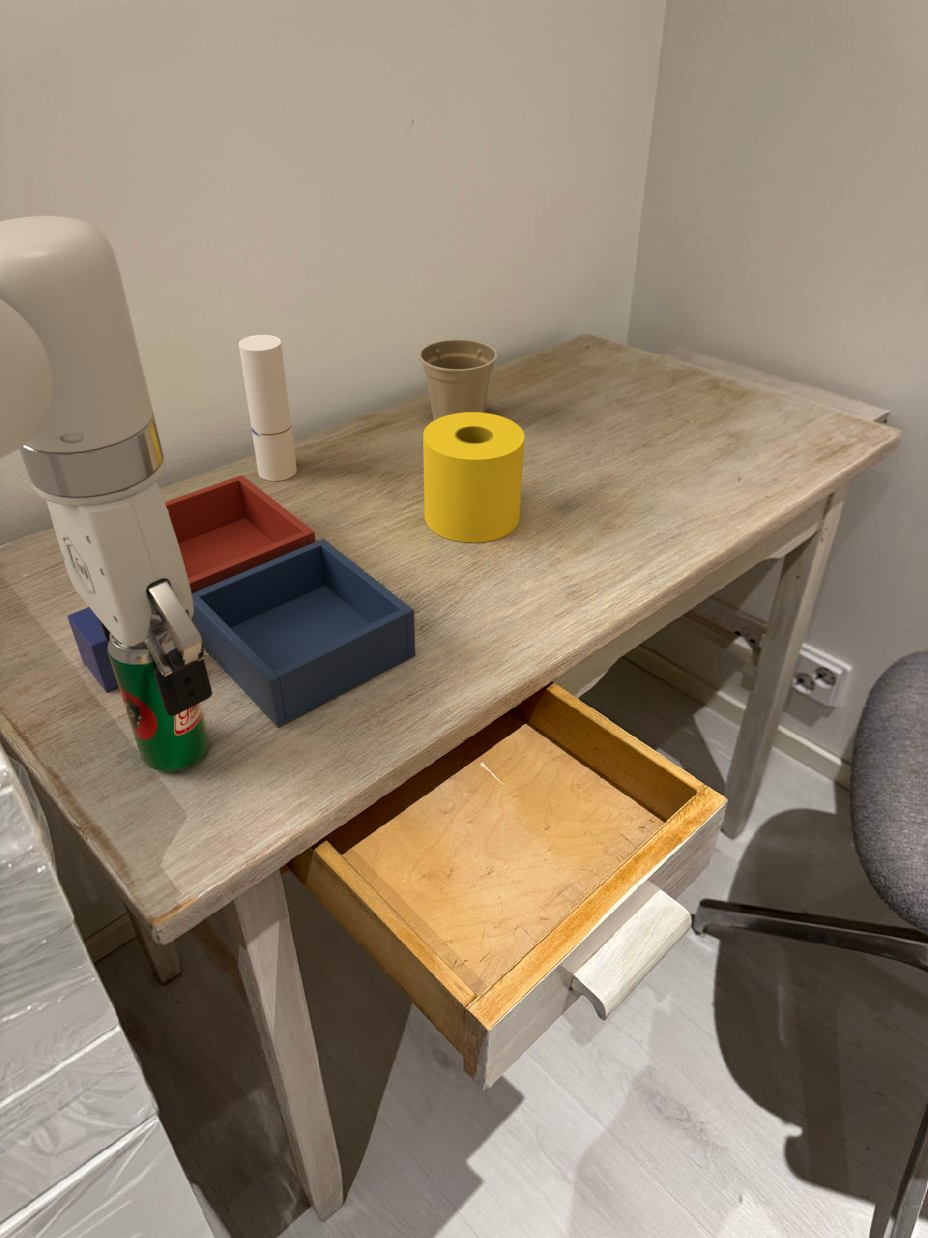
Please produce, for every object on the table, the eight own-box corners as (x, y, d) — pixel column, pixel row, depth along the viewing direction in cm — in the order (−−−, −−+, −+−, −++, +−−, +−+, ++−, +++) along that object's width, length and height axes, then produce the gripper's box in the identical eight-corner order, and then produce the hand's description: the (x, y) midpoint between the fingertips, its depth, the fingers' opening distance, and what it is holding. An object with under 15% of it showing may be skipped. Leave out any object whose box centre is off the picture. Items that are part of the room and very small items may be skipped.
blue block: (106, 692, 73) (91, 646, 70) (82, 661, 76) (66, 615, 72) (163, 666, 75) (151, 620, 72) (138, 637, 78) (125, 591, 75)
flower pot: (405, 425, 110) (402, 358, 105) (446, 397, 116) (446, 332, 111) (470, 445, 106) (471, 376, 101) (508, 415, 112) (512, 348, 107)
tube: (303, 465, 102) (288, 337, 93) (285, 483, 99) (268, 353, 89) (270, 459, 103) (251, 332, 94) (251, 477, 100) (230, 347, 90)
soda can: (201, 777, 66) (169, 654, 58) (133, 776, 66) (92, 653, 58) (217, 727, 70) (189, 606, 62) (152, 726, 70) (116, 605, 62)
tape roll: (538, 525, 93) (544, 443, 87) (455, 552, 89) (455, 469, 83) (487, 482, 99) (489, 404, 93) (407, 506, 95) (405, 426, 89)
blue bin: (278, 728, 70) (270, 681, 67) (196, 641, 78) (186, 595, 75) (415, 655, 77) (414, 609, 74) (327, 582, 85) (323, 538, 82)
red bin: (189, 633, 79) (178, 587, 76) (124, 563, 87) (112, 520, 84) (319, 575, 86) (314, 531, 82) (248, 516, 94) (241, 474, 90)
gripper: (-22, 416, 55) (58, 628, 66) (90, 538, 45) (162, 765, 56) (96, 383, 59) (153, 588, 70) (223, 488, 49) (267, 710, 60)
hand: (157, 667), depth 63 cm, fingers open, 9 cm apart
